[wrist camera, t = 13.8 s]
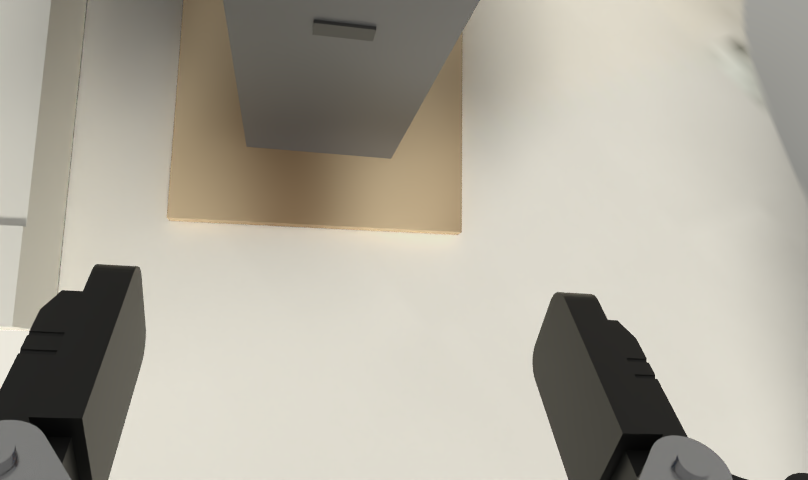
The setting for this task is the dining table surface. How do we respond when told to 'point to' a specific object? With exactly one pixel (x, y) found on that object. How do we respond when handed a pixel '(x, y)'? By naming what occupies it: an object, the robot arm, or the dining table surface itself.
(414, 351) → the dining table surface
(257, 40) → the block
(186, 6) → the coaster
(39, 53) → the power strip
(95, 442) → the robot arm
